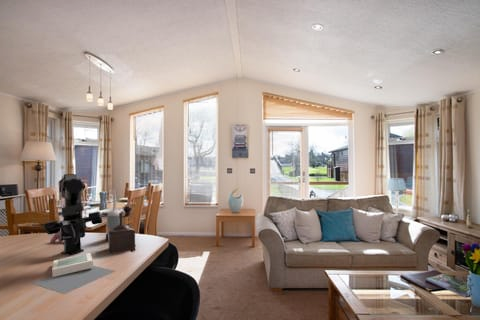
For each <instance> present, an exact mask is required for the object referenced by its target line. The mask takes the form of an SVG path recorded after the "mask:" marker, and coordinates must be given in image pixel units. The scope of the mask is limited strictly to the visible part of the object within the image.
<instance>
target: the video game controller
mask: <svg viewBox="0 0 480 320" xmlns="http://www.w3.org/2000/svg"><path fill="white" fill-rule="evenodd" d="M56 241H58V242H63V241H61V229H60V231H59V232H58V233H55V234H54V235H52V237H51V238H50V244H54V243H55V242H56Z"/></svg>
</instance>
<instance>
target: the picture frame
mask: <svg viewBox="0 0 480 320" xmlns="http://www.w3.org/2000/svg"><path fill="white" fill-rule="evenodd" d="M93 266H94V261H93V257H92V253H90V252H89V253H83V254H80V255H79V254H78V255H74V256H70V257H63V258H60V259H56V260H53V264H52V268H51V270H52V272H51V273H52V275H53V277H56V276H60V275H64V274H68V273H72V272H77V271H81V270H85V269H89V268H93Z"/></svg>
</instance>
